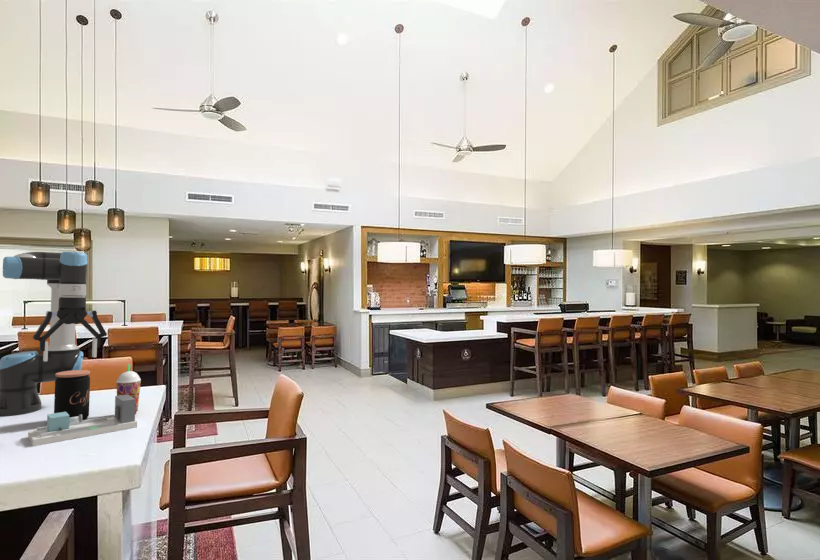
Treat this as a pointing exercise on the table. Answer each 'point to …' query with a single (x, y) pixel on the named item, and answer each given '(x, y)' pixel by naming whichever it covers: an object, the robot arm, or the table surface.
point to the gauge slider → (60, 421)
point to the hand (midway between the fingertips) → (70, 359)
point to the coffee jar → (72, 393)
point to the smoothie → (129, 385)
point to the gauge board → (91, 424)
